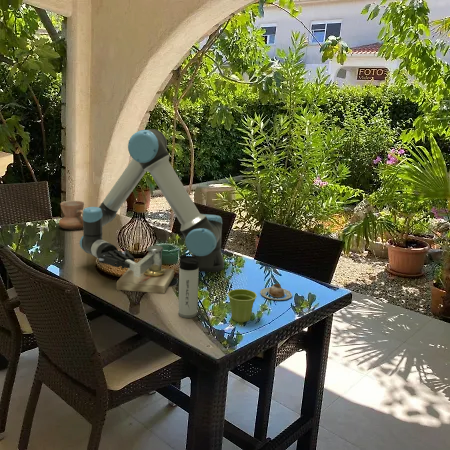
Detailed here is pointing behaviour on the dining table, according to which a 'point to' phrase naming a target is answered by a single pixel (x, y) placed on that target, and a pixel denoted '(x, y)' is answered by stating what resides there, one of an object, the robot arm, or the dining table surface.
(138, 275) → the grey lever handle
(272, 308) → the dining table surface
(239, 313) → the plant pot
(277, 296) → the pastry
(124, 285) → the stand
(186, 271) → the travel mug
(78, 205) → the ceramic jug
